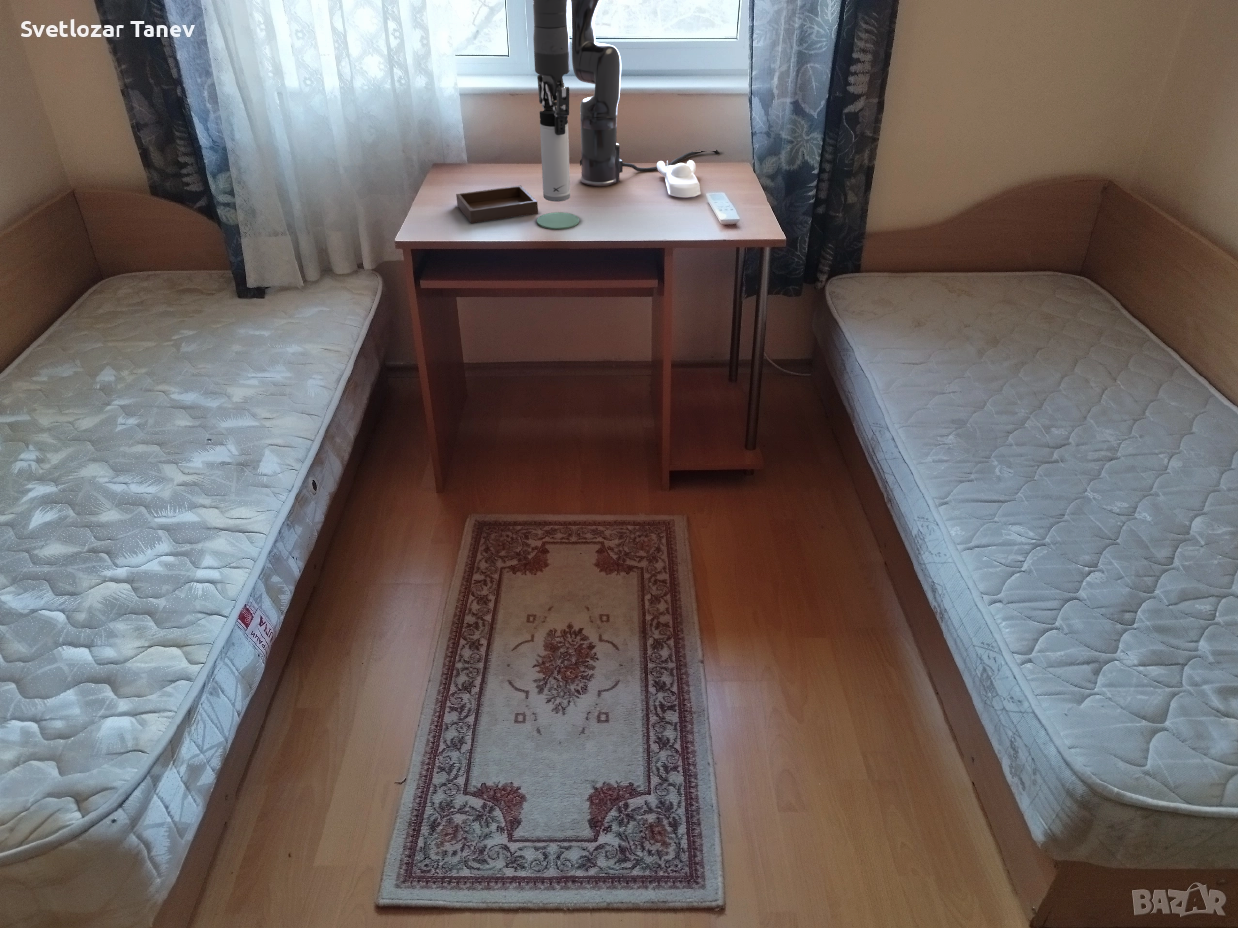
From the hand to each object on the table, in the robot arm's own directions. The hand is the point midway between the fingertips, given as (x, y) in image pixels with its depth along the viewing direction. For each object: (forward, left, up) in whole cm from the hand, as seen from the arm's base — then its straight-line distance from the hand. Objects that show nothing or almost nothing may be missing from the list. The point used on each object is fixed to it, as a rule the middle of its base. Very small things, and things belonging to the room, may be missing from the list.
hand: (554, 130), depth 194 cm
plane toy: (-38, -11, -21) cm, 45 cm away
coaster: (0, 0, -21) cm, 21 cm away
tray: (+11, -13, -21) cm, 27 cm away
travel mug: (0, 0, -15) cm, 15 cm away
